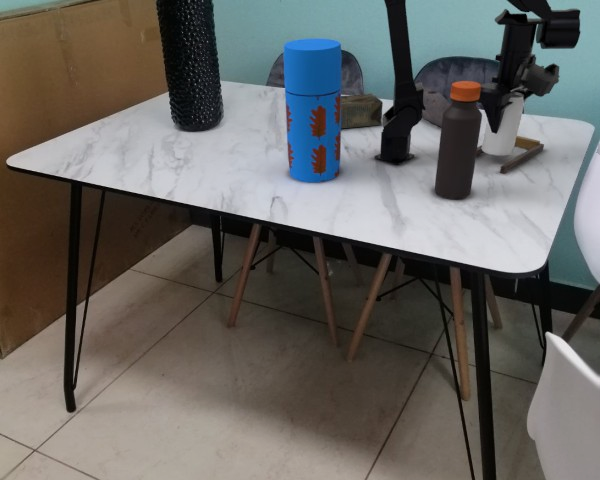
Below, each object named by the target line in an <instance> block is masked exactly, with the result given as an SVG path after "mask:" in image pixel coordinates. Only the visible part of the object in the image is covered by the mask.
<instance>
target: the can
mask: <svg viewBox="0 0 600 480" xmlns="http://www.w3.org/2000/svg"><path fill="white" fill-rule="evenodd" d="M523 97H524V95H523V94H522V93H518V92H514V91H512V92H511V97H510V100H509V102H513V103H512V104H511V105H510V106H508V107H507V108H506V109H505V111H504V114H503V118H502V121H501V124H500V127H499V129H498V132H497V134H495V133H492V132H491V128H490V125H489V122H488V119H487V118H486V123H485V129H484V133H483V139H482V142H481V145H482V148H481V149H482V151H483V152H484V153H483V154H486V155H488V156H492V157H497V158H498V157H500V158H501V157H502V158H503V157H510V156H511V155H513V153H514V149H515V146H514V145H515V141H516V137H517V136H518V132H519V128H520V125H521V120H522V115H523V111H524V107H525V103H524V100H523Z"/></svg>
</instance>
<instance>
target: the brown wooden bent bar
mask: <svg viewBox="0 0 600 480" xmlns="http://www.w3.org/2000/svg"><path fill="white" fill-rule="evenodd" d="M514 147H518V148H523V149H527V150H526V151H524V152H522V153H520V154H519V155H517V156H515V157H514V158H512V159H510V160H509V161H507V162H505V163H503V164H502V165H500V170H499V173H500V174H504V175H505V174H507V173H508V172H510V171H512V170H513V169H515V168H516V167H518V166H520V165H521V164H524V163H525V162H527V161H528V160H530V159H532V158H533V157H535V156H537V155H538V154H540V153H541V152H543V151H544V147H545V143H541V140H537V139H533V138H529V137H525V136H521V135H517V137H516V141H515V145H514ZM481 148H482V144H481V145H478V147H477V153H476V158H478V157H479V156H481V155H483V154H485V153H484V152H483V151H482V149H481Z"/></svg>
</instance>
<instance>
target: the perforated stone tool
mask: <svg viewBox="0 0 600 480" xmlns="http://www.w3.org/2000/svg"><path fill="white" fill-rule="evenodd" d="M423 90H424V94H423V100H424V104H425V108H426V110H422V112H423V113H422V118H423V119H424V120H426V121H428V122H429V123H431V124H433V125H436V126H438V127H440V128H441V127H442V118H443V113H444V111H445V110H446V109H447V108H448V107H450V106H451V104H450V102H449V101H448V99H446V97H445V96H444V95H443V94H441V92H439V91H437V90H435V89H433V88H431V87H423Z"/></svg>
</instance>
